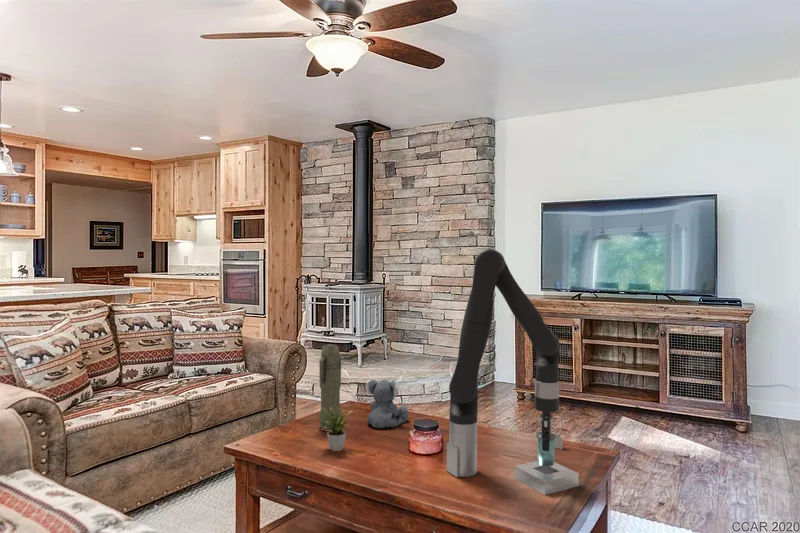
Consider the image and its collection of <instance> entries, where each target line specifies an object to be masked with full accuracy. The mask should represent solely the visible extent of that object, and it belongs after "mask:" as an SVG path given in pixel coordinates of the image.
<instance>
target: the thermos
mask: <svg viewBox="0 0 800 533" xmlns="http://www.w3.org/2000/svg"><path fill="white" fill-rule="evenodd" d="M320 354H321V355H320V359H319V387H320V410H319V429H320V428H321V429H324V427H325V426H329V425H328V424H327V423H324V422H325V421H329V422H330V423H331V421H330V419H329V418H328V417H327V416H326V415H327V413H326V411H327V412H328V414H329V416H330V418H331V419H332V412H331V409H330V407H331V408H332V410H333V412H334V413H335V416H336V415H337V413H338V416H337V421H338V419H339V418H340V417H341V414H342V411H341V404H340V403H341V402H340V401H341V398H340V397H341V396H340V395H341V394H340V393H341V392H340V389H341V386H342V385H341V384H342V382H341V381H342V357H341V354H340V349H339V347H338V345H337V344H336V343H334V344H333V343H327V344H324V345H323V346H322V349H321V352H320ZM322 408H323V409H322ZM324 409H325V410H326V411H325V410H324ZM337 410H338V411H337ZM323 413H324V414H323ZM325 414H326V415H325ZM322 415H323V416H322ZM324 416H325V417H326V418H327V419H328V420H327V419H326V418H325V417H324ZM320 424H322V425H320ZM331 424H332V423H331ZM332 425H333V424H332ZM328 428H329V429H330V430H332V429H331V428H330V426H329V427H328ZM328 428H326V429H324V430H329V429H328Z"/></svg>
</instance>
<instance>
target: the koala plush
mask: <svg viewBox="0 0 800 533" xmlns="http://www.w3.org/2000/svg"><path fill="white" fill-rule="evenodd" d="M399 387H400V385H399V381H398V380H397V379H395V380H391V381H389V380H387V379H381V380H379V381H376V380H375V379H368V380H367V381H366V386H365V388H366V391H367V393H368V394H369V395H372V397H373V399H374V401H373V402H371V404H370V413H369V414H368V416H367V420H366V421H367V422H368V424H370V425H371V426H372V427H373V428H374V427H375V428H374V429H384V428H389V427H392V428H396V427H398V426H399V425H401V423H402V424H404V423H406V422H407V420H408V419H409V412H408V406H406V405H401V406H400V407H398V406H397V405H396V404H395V402H394V399H395V398H396V396H397V395H398V393H399Z"/></svg>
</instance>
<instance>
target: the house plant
mask: <svg viewBox="0 0 800 533" xmlns="http://www.w3.org/2000/svg"><path fill="white" fill-rule="evenodd" d="M322 409H323V408H322ZM330 409H331V412H332V419H331V418H330V416H329V414H328V412H327V411H326V410H325V409H324V410H325V411H326V413H327V415H326V414H325V415H326V416H327V417H328V418H329V419H330V421H331V423H332V424H333V425H332V424H331V423H330V422H329V421H325V422H324V423H327V424H328V425H329V426H330V428H331V429H332V430H330V429H329V428H328V427H329V426H325V427H324V429H326V428H328V429H329V430H330V431H326V432H327V433H326V434H327V441H328V448H330V449H331V450H335V451H337V450H342V449H343V448H345V444H346V443H345V442H346V437H347V436H346V435H347V431H345V428H346V427H347V426H349V425H350V423H349V421H345V419H346V418H347V417H348V416H349V415H350V414H351V412H353V411H354V409H352V410H349V412H348V413H347V414H344V412H345V409H343V410H342V411H341V417H340V418H339V419H338V421H337V416H338V413H337V415H336V416H335V413H334V412H333V410H332V408H331V407H330ZM337 411H338V410H337ZM323 414H324V413H323ZM322 416H323V415H322ZM324 417H325V416H324ZM325 418H326V417H325ZM326 419H327V418H326ZM327 420H328V419H327ZM320 425H322V424H320V423H319V426H320ZM344 425H345V426H344ZM324 429H323V430H324ZM330 449H329V450H330ZM343 450H344V449H343ZM343 450H342V451H343Z"/></svg>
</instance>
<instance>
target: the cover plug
mask: <svg viewBox="0 0 800 533" xmlns="http://www.w3.org/2000/svg"><path fill="white" fill-rule="evenodd" d="M535 435H536V436H535V438H537V443H536V444H537V445H536V446H537V449H536V451H537V453H536V454H537V457H536V458H537V459H536V461H537V463H538V464H540V465H543V466H552V465H554V462H555V448H554V440H555V439H556V435H555V434H554V433H552V432H551V433H550V441H549V451H543V450H542V438H541V436H542V431H539V432H536V434H535ZM544 435H548V432H544Z"/></svg>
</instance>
